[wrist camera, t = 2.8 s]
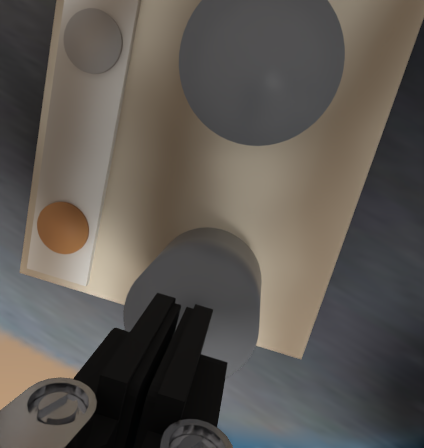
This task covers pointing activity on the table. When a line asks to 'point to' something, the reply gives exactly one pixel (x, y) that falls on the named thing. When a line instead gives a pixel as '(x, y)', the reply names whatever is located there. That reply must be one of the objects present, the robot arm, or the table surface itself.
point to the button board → (199, 158)
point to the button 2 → (207, 290)
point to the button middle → (261, 66)
